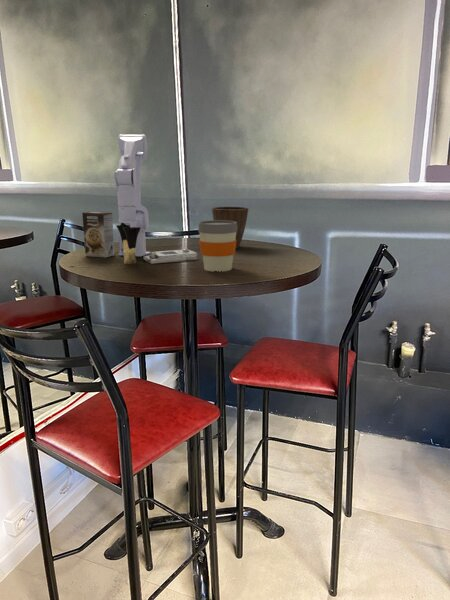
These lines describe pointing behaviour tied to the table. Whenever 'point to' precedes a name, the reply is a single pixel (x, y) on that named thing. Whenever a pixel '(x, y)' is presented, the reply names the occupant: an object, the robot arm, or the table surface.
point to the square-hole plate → (170, 256)
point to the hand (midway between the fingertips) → (129, 246)
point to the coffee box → (98, 234)
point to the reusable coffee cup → (217, 244)
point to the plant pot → (232, 218)
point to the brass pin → (128, 253)
